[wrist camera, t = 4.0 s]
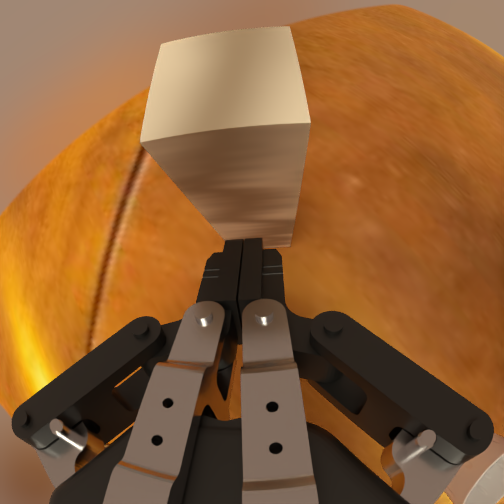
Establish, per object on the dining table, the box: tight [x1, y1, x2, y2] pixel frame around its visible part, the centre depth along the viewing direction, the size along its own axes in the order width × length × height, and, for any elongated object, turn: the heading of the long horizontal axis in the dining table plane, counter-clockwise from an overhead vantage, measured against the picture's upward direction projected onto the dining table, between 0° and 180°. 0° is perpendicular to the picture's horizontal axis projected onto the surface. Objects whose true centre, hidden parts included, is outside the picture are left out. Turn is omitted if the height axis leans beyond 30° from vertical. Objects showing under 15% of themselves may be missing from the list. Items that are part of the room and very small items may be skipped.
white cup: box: [444, 433, 504, 504], centre depth 14 cm, size 8×8×10 cm
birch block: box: [140, 26, 311, 248], centre depth 17 cm, size 5×5×18 cm
